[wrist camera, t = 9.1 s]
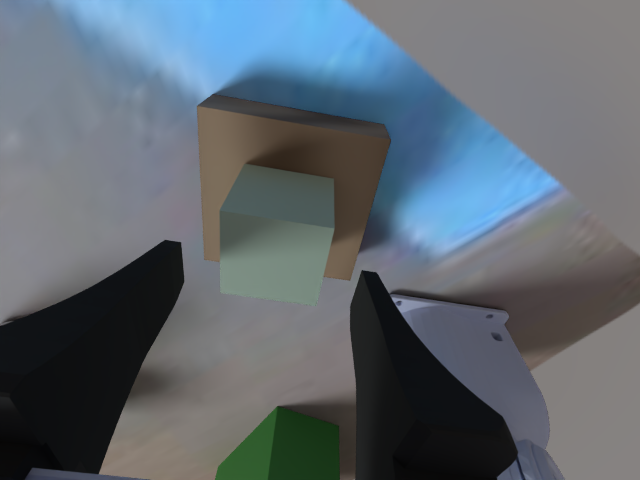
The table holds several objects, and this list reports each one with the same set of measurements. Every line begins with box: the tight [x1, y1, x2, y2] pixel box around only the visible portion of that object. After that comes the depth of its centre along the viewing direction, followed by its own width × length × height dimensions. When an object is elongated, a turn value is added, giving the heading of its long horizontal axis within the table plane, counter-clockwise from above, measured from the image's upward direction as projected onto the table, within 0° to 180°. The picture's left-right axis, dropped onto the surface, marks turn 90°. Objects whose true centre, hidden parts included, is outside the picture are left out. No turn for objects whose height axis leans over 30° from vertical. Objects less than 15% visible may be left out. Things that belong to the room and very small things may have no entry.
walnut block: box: [197, 94, 391, 281], centre depth 19 cm, size 9×9×3 cm
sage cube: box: [219, 164, 335, 306], centre depth 16 cm, size 4×4×4 cm
